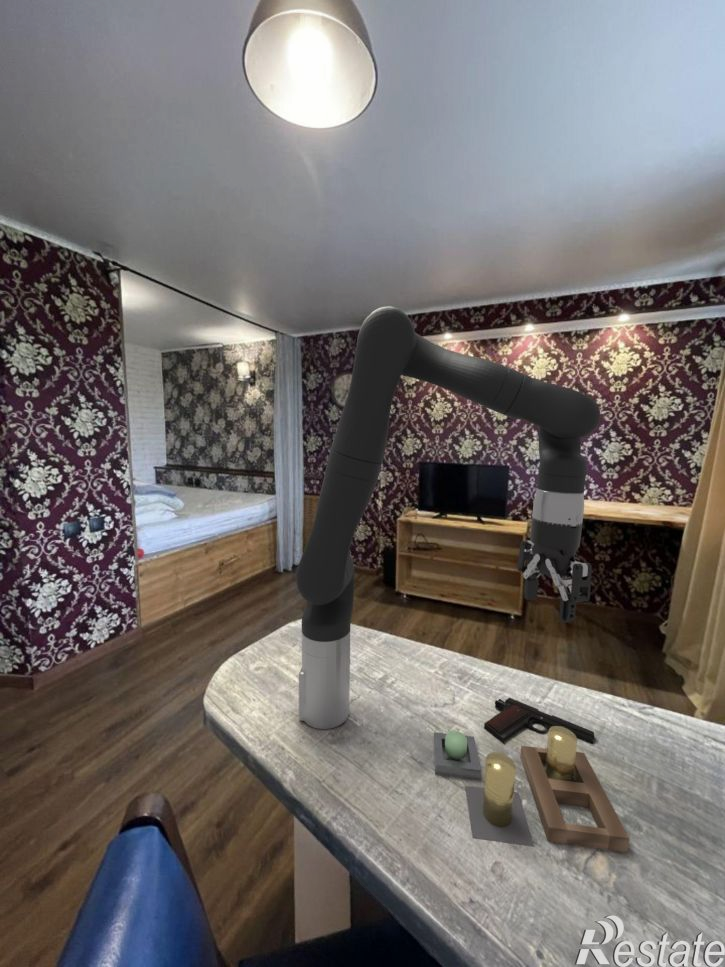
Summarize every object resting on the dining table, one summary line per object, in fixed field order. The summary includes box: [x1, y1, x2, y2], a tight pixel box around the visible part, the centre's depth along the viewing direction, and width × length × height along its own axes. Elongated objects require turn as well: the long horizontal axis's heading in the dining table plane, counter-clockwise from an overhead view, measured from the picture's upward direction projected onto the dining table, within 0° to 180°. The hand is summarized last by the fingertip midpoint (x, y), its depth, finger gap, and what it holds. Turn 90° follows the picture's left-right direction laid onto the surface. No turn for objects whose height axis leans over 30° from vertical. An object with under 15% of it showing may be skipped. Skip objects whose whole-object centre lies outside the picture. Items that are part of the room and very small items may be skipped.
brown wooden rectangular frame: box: [519, 745, 630, 853], centre depth 59 cm, size 10×14×2 cm
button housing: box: [432, 731, 482, 781], centre depth 66 cm, size 7×7×2 cm
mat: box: [464, 785, 535, 847], centre depth 57 cm, size 8×8×1 cm
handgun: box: [483, 697, 595, 745], centre depth 72 cm, size 2×17×12 cm
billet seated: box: [544, 726, 578, 782], centre depth 62 cm, size 4×4×8 cm
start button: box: [445, 730, 467, 759], centre depth 66 cm, size 4×4×2 cm
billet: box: [483, 752, 516, 827], centre depth 56 cm, size 4×4×8 cm
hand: (546, 609), depth 68 cm, fingers open, 8 cm apart
